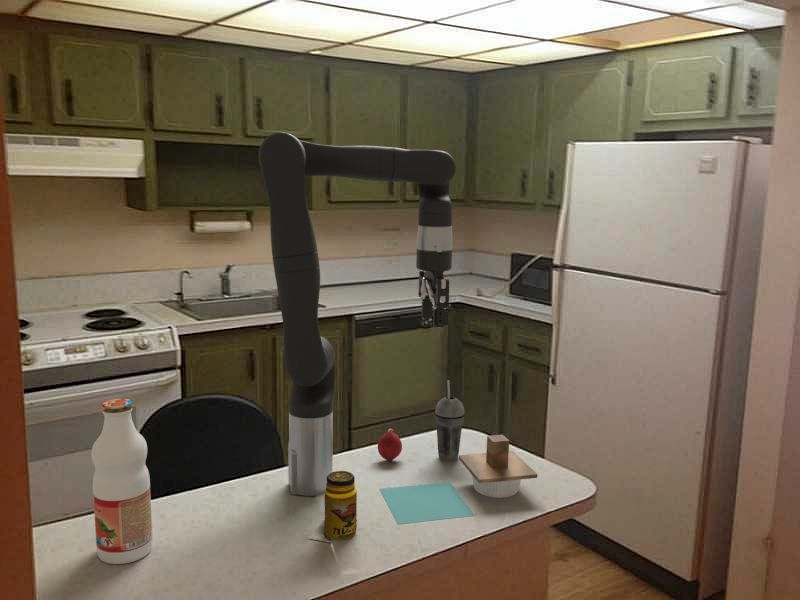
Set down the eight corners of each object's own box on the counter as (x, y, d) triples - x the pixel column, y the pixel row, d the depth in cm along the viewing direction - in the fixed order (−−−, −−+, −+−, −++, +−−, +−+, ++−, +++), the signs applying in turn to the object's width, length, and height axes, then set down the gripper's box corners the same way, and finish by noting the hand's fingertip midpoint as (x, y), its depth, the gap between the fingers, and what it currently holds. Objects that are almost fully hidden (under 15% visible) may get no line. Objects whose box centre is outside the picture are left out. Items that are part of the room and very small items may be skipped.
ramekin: (531, 490, 157) (533, 467, 156) (502, 507, 148) (503, 483, 148) (490, 475, 164) (491, 453, 163) (459, 490, 156) (460, 467, 155)
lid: (479, 483, 147) (480, 452, 146) (458, 458, 160) (459, 429, 159) (537, 477, 151) (539, 447, 149) (512, 454, 163) (514, 425, 162)
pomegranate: (399, 467, 167) (399, 434, 166) (374, 464, 168) (375, 432, 167) (403, 457, 173) (404, 426, 171) (380, 455, 174) (380, 424, 172)
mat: (397, 526, 139) (397, 524, 139) (379, 490, 155) (379, 488, 155) (475, 517, 143) (475, 515, 143) (449, 484, 159) (449, 481, 159)
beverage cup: (468, 458, 173) (471, 378, 170) (454, 468, 167) (457, 385, 163) (442, 451, 177) (444, 373, 173) (427, 461, 171) (429, 380, 167)
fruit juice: (151, 562, 125) (143, 409, 120) (93, 568, 123) (83, 413, 118) (155, 535, 134) (148, 392, 129) (101, 541, 132) (91, 395, 127)
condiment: (350, 547, 132) (350, 486, 130) (308, 539, 134) (307, 479, 132) (364, 528, 139) (364, 470, 136) (323, 521, 141) (323, 464, 139)
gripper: (408, 243, 157) (406, 316, 160) (427, 251, 143) (425, 330, 146) (441, 243, 159) (439, 315, 162) (462, 250, 145) (460, 329, 148)
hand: (432, 322), depth 154 cm, fingers open, 8 cm apart
